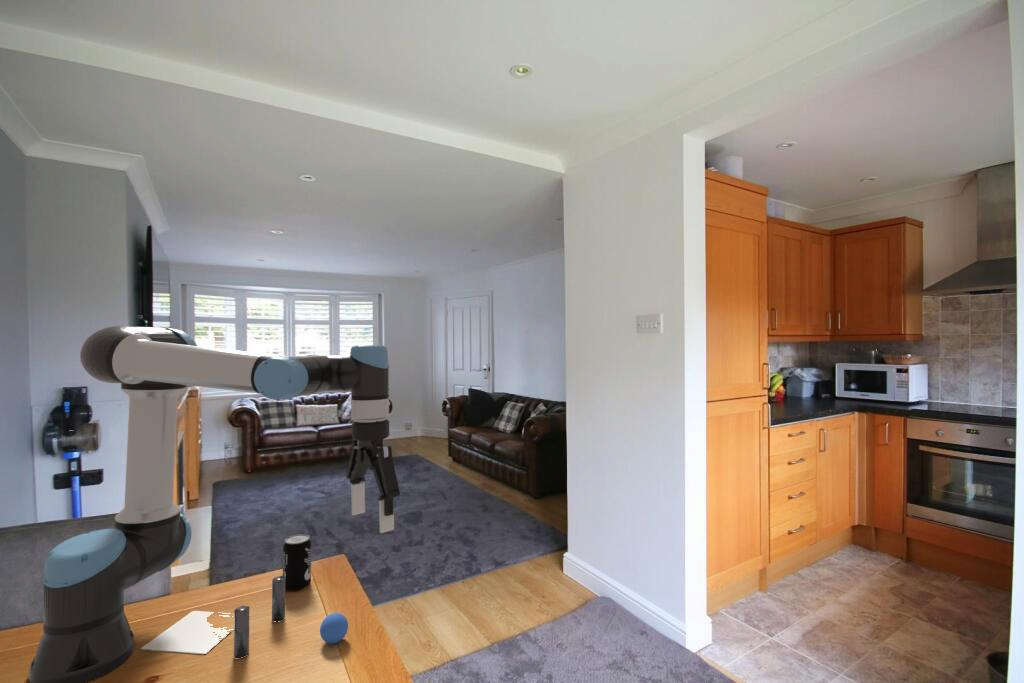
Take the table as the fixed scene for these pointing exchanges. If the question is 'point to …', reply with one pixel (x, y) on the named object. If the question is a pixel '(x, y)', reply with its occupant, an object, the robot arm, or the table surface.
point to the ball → (334, 628)
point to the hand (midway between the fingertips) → (371, 522)
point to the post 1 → (241, 631)
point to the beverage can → (297, 562)
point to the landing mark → (189, 635)
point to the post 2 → (278, 598)
